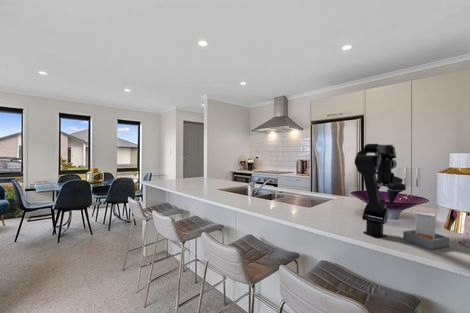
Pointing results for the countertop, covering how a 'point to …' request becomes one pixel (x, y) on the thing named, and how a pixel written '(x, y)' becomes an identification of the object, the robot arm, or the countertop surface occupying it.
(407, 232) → the tray
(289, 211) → the countertop surface
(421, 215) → the skincare box
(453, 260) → the countertop surface
